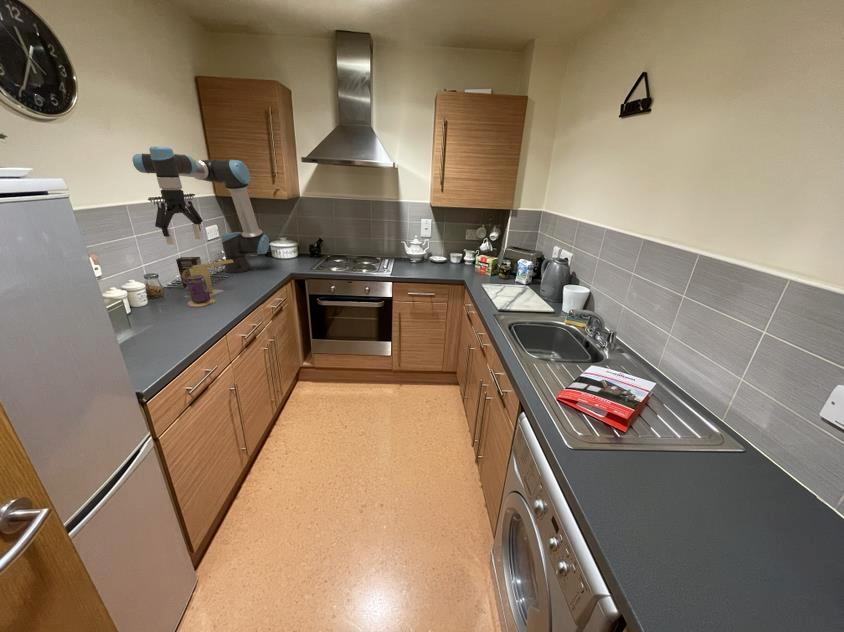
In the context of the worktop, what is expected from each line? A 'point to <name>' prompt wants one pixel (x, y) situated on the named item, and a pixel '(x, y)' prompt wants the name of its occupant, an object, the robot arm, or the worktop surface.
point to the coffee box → (186, 268)
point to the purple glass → (198, 288)
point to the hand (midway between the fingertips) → (185, 241)
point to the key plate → (210, 293)
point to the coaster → (209, 302)
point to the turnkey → (206, 271)
